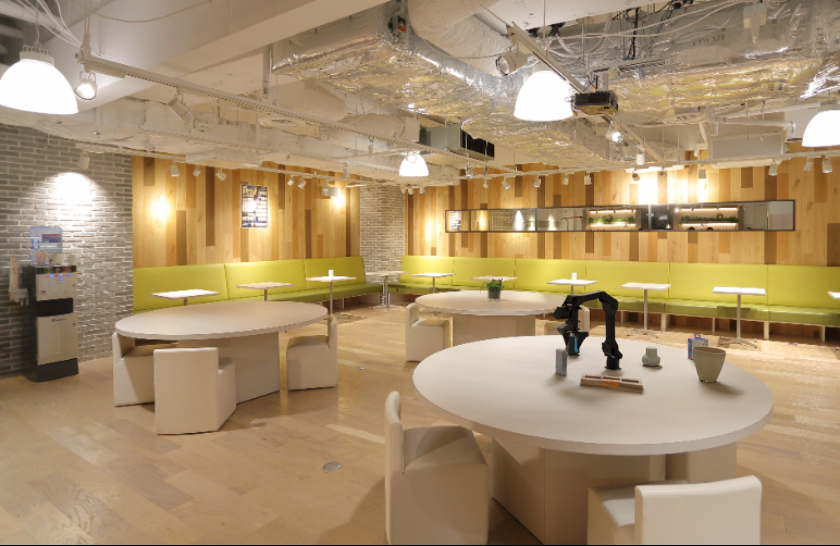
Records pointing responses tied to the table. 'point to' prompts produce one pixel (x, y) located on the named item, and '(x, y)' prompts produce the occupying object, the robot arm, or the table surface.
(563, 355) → the gray rectangular block
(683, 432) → the table surface
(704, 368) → the plant pot
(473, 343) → the table surface
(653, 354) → the air freshener
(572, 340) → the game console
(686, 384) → the table surface
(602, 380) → the slot rack
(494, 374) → the table surface
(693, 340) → the ink cartridge box
